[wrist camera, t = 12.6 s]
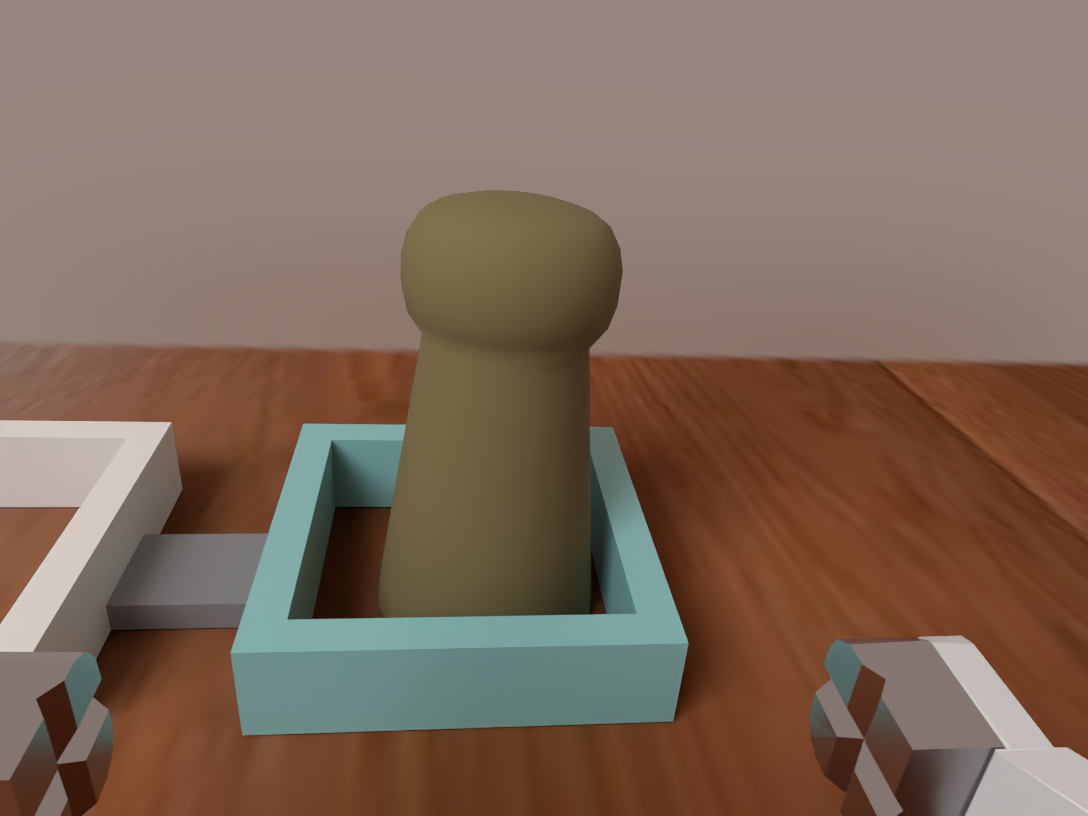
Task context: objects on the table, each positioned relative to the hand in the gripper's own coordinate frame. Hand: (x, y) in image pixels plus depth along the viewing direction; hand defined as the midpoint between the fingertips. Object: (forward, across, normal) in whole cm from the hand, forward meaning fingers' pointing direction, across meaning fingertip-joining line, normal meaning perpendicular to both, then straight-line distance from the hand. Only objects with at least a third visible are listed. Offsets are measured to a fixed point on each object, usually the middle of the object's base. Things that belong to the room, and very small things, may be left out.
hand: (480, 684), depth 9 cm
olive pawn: (+12, -1, +9) cm, 14 cm away
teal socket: (+12, 0, +9) cm, 15 cm away
